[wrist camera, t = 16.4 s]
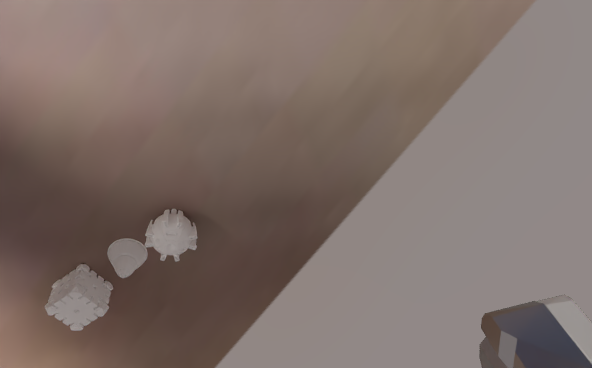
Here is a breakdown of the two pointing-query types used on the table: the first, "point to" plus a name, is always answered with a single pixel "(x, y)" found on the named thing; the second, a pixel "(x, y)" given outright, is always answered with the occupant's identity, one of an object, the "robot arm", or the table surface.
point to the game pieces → (117, 270)
